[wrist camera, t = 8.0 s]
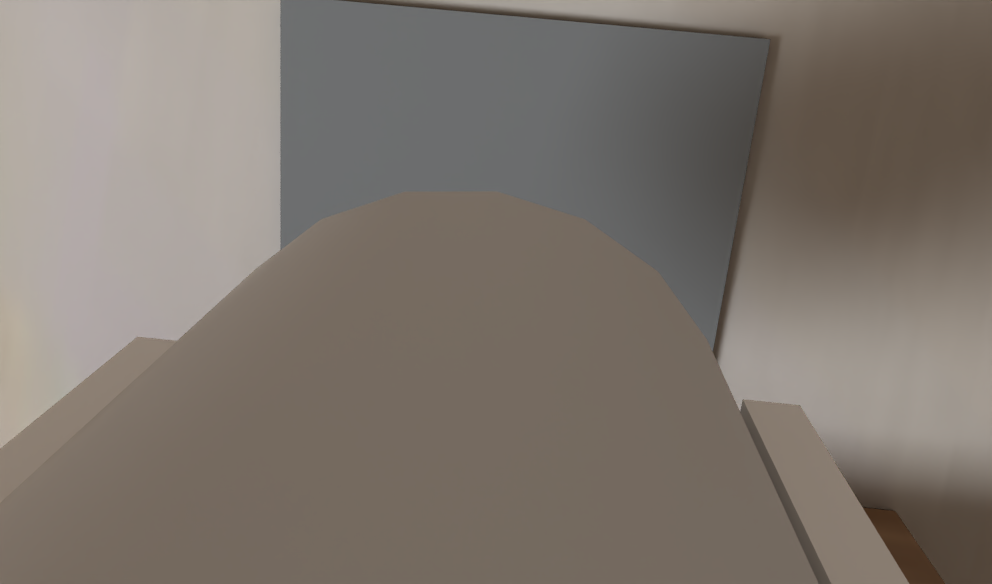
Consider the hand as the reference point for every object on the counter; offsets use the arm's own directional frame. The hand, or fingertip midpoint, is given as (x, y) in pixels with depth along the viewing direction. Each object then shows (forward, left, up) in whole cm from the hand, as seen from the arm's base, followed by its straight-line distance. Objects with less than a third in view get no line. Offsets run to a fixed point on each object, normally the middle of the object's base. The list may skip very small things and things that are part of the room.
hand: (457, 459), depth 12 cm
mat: (0, 0, -12) cm, 12 cm away
